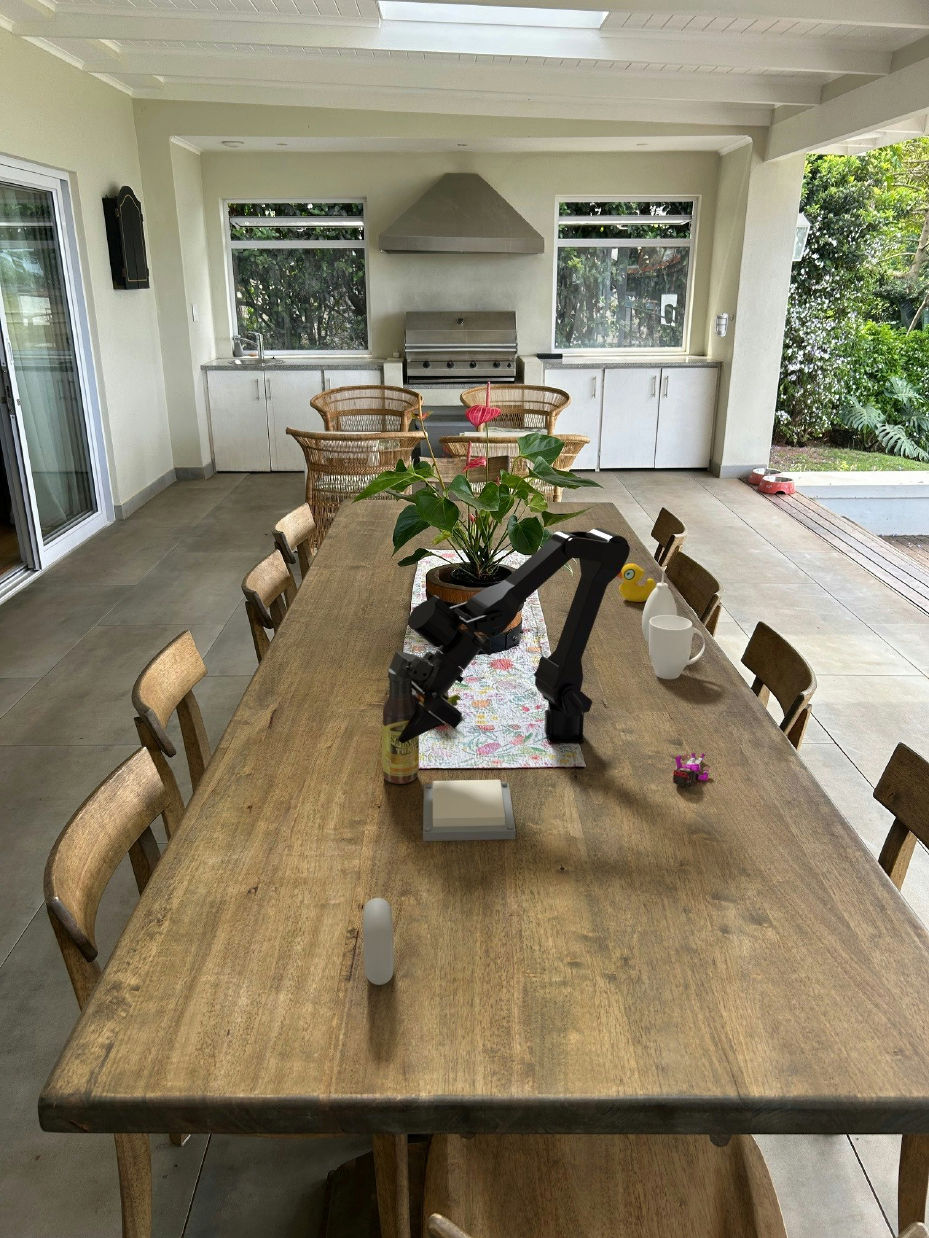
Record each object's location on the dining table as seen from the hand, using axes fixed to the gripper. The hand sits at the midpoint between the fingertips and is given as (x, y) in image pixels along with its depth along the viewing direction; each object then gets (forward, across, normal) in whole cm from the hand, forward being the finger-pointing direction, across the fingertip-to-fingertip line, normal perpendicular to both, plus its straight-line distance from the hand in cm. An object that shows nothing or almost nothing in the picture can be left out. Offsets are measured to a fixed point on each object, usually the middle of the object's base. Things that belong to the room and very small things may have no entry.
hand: (392, 733), depth 153 cm
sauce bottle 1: (+5, 0, +7) cm, 9 cm away
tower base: (+2, +16, +10) cm, 19 cm away
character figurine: (-25, +22, +39) cm, 52 cm away
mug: (-43, -13, +56) cm, 72 cm away
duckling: (-57, -55, +71) cm, 107 cm away
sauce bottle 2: (-47, -27, +61) cm, 82 cm away
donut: (+20, +42, -8) cm, 47 cm away
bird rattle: (-5, -19, +18) cm, 27 cm away
